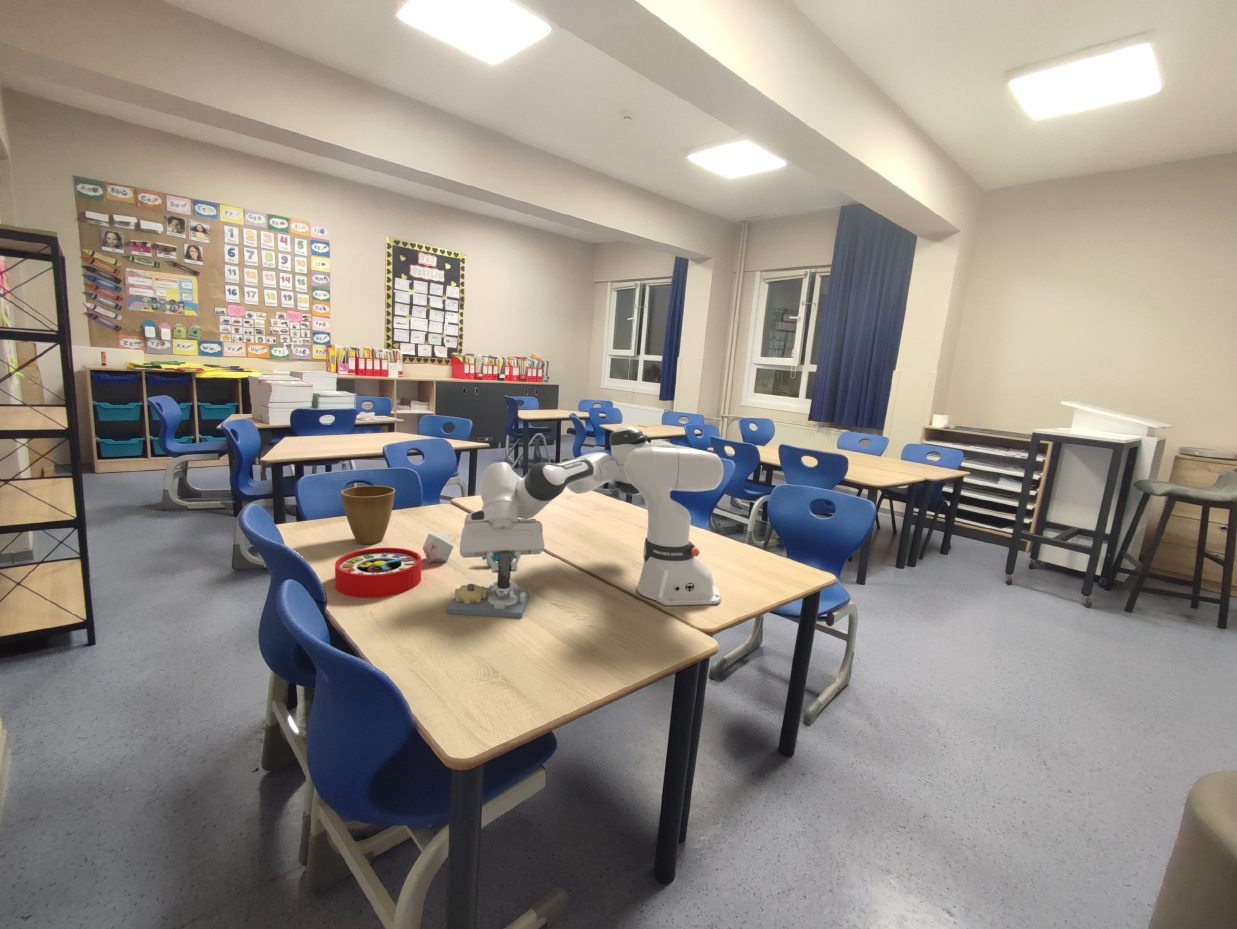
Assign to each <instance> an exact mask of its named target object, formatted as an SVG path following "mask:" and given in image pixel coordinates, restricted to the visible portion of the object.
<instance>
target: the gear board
mask: <svg viewBox="0 0 1237 929" xmlns="http://www.w3.org/2000/svg"><path fill="white" fill-rule="evenodd" d="M530 592H531V591H530V589H523V588H518V591H517V595H516V594H514V595H513V597H511V598H509V597H507V598H503V599H498V598H499V597H492V596H490V593H489V587H487V586H486V587H485V586H484V585H478V584H475V583H468V584H466V585H465V584H463V585H460V586H459V588H455V590H454V597H453V599H452V600H451V603H449V604H448V607H447V610H446V613H447V614H450V615H464V616H465V615H466V616H483V617H502V618H504V617H505V618H519V619H521V618H523V616H524V611H525V608H526V605H527V603H528V600H529V596H530Z"/></svg>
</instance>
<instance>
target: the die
mask: <svg viewBox="0 0 1237 929" xmlns="http://www.w3.org/2000/svg"><path fill="white" fill-rule="evenodd" d="M453 549H454V545H453V543H452V541H451V538H450V536H449V533H448V532H438V533H437V532H435V533H431V532H430V533H428V534H427V537H426V539H425V541H424V544H423V547H422V550H423V553H424V555H425V558H426V560H427V563H444V562H445V563H447V562H448V560H449V559H450V555H451V553H452V550H453Z"/></svg>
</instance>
